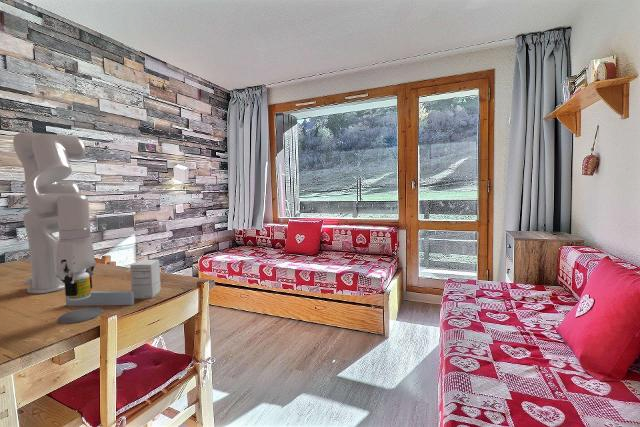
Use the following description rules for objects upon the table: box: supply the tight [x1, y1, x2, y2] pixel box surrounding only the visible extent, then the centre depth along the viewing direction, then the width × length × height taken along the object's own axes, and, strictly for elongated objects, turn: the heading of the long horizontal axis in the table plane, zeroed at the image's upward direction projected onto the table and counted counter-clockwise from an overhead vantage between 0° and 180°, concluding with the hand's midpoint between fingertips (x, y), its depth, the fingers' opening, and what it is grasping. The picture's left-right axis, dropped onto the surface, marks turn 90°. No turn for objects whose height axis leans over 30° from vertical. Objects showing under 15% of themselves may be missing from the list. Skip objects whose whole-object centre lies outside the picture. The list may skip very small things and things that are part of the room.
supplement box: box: [129, 259, 162, 299], centre depth 114 cm, size 7×7×13 cm
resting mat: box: [57, 306, 103, 324], centre depth 96 cm, size 11×11×1 cm
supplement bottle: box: [69, 269, 92, 300], centre depth 95 cm, size 5×5×10 cm
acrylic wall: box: [64, 290, 135, 307], centre depth 105 cm, size 22×1×4 cm, turn 92°
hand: (79, 291), depth 95 cm, fingers closed on supplement bottle, 5 cm apart
